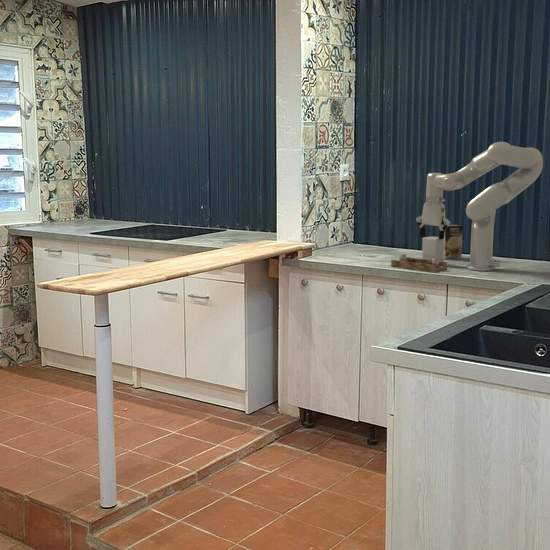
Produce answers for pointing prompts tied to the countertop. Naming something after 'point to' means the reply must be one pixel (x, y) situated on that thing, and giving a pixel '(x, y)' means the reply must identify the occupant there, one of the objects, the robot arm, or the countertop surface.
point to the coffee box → (453, 242)
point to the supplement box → (433, 248)
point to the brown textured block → (419, 264)
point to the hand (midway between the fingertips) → (431, 237)
